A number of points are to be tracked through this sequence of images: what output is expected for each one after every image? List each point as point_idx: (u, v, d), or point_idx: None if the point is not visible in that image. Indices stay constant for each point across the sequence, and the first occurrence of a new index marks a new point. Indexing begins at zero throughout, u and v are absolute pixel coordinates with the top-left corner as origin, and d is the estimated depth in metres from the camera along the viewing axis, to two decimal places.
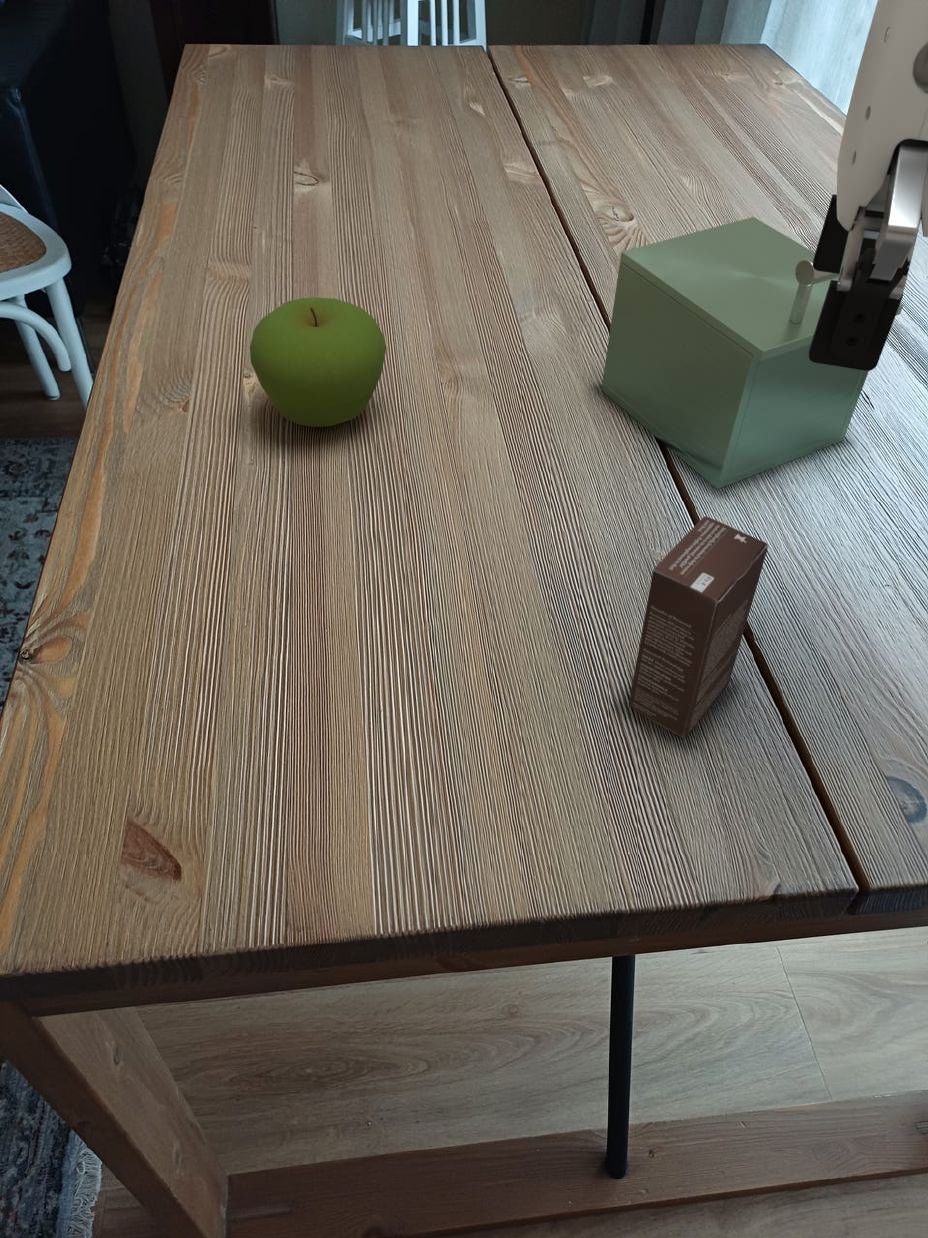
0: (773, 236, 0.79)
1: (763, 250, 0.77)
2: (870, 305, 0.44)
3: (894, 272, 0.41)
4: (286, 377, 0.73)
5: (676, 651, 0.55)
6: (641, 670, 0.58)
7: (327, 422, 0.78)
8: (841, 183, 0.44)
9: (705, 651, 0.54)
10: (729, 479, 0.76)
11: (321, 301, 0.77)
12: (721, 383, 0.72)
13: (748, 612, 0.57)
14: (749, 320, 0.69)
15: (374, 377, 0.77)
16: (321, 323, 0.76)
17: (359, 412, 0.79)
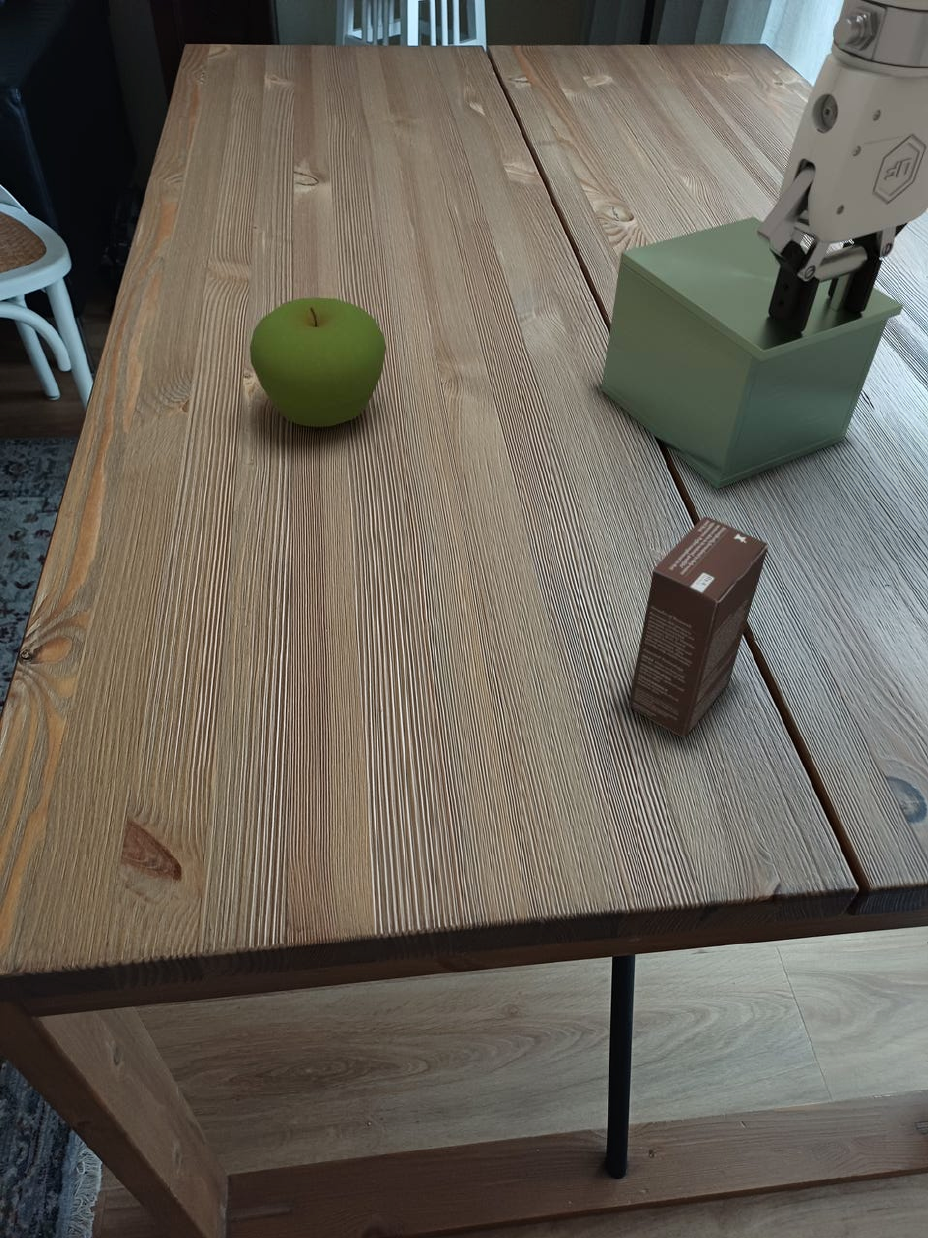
0: None
1: (763, 250, 0.77)
2: (791, 279, 0.66)
3: (781, 255, 0.64)
4: (286, 377, 0.73)
5: (677, 651, 0.55)
6: (641, 670, 0.58)
7: (327, 422, 0.78)
8: None
9: (705, 651, 0.54)
10: (729, 479, 0.76)
11: (321, 301, 0.77)
12: (721, 383, 0.72)
13: (748, 612, 0.57)
14: (749, 320, 0.69)
15: (373, 377, 0.77)
16: (321, 323, 0.76)
17: (359, 412, 0.79)
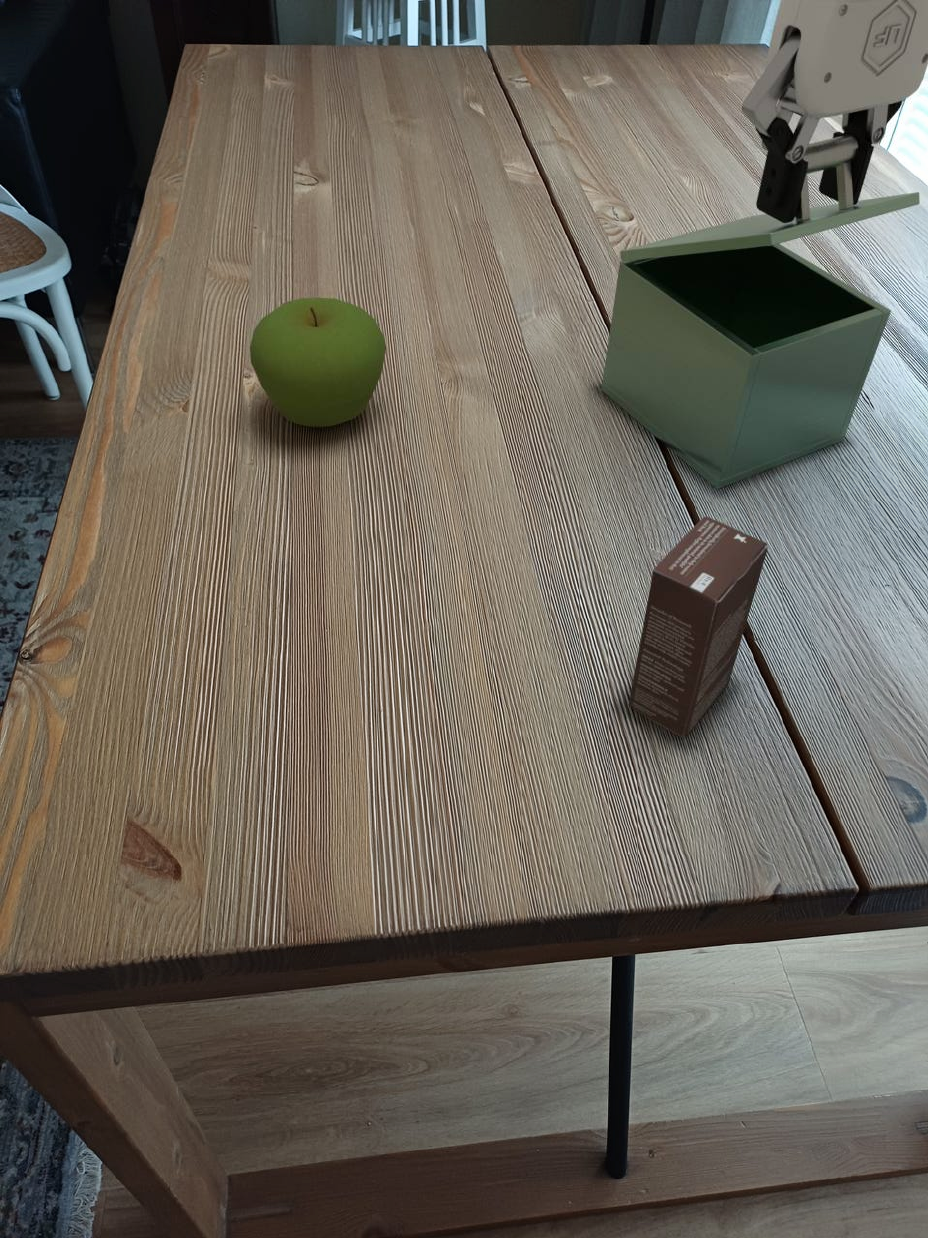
0: None
1: (764, 218, 0.76)
2: (779, 163, 0.64)
3: (767, 132, 0.61)
4: (286, 377, 0.73)
5: (676, 651, 0.55)
6: (641, 670, 0.58)
7: (327, 422, 0.78)
8: None
9: (705, 651, 0.54)
10: (729, 479, 0.76)
11: (321, 301, 0.77)
12: (721, 383, 0.72)
13: (748, 612, 0.57)
14: (753, 231, 0.66)
15: (373, 377, 0.77)
16: (321, 323, 0.76)
17: (359, 412, 0.79)
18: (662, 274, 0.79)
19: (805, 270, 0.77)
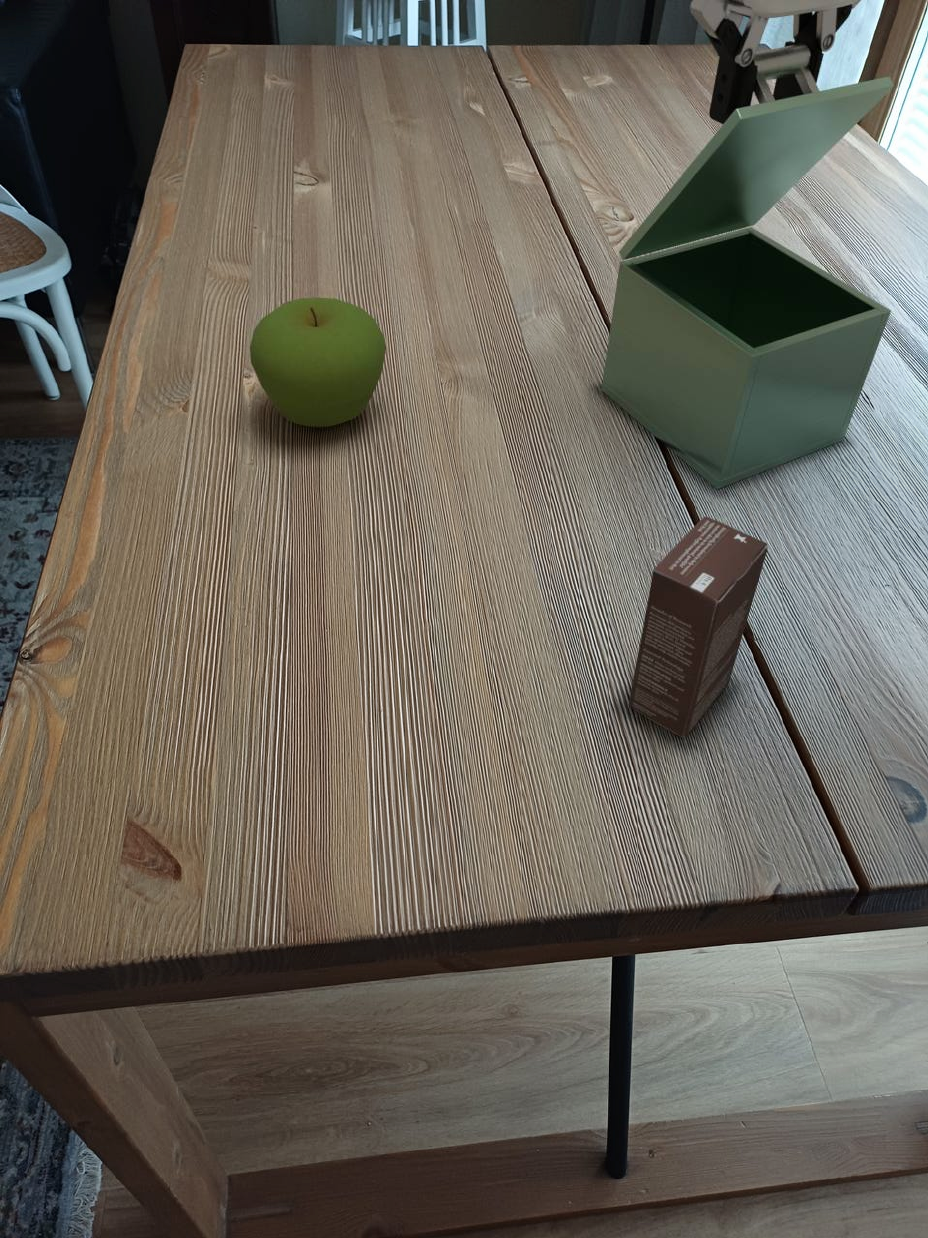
0: None
1: None
2: (729, 68, 0.64)
3: (716, 34, 0.62)
4: (286, 377, 0.73)
5: (677, 651, 0.55)
6: (641, 670, 0.58)
7: (327, 422, 0.78)
8: None
9: (705, 651, 0.54)
10: (729, 479, 0.76)
11: (321, 301, 0.77)
12: (721, 383, 0.72)
13: (748, 612, 0.57)
14: None
15: (374, 377, 0.77)
16: (321, 323, 0.76)
17: (359, 412, 0.79)
18: (662, 274, 0.79)
19: (805, 270, 0.77)
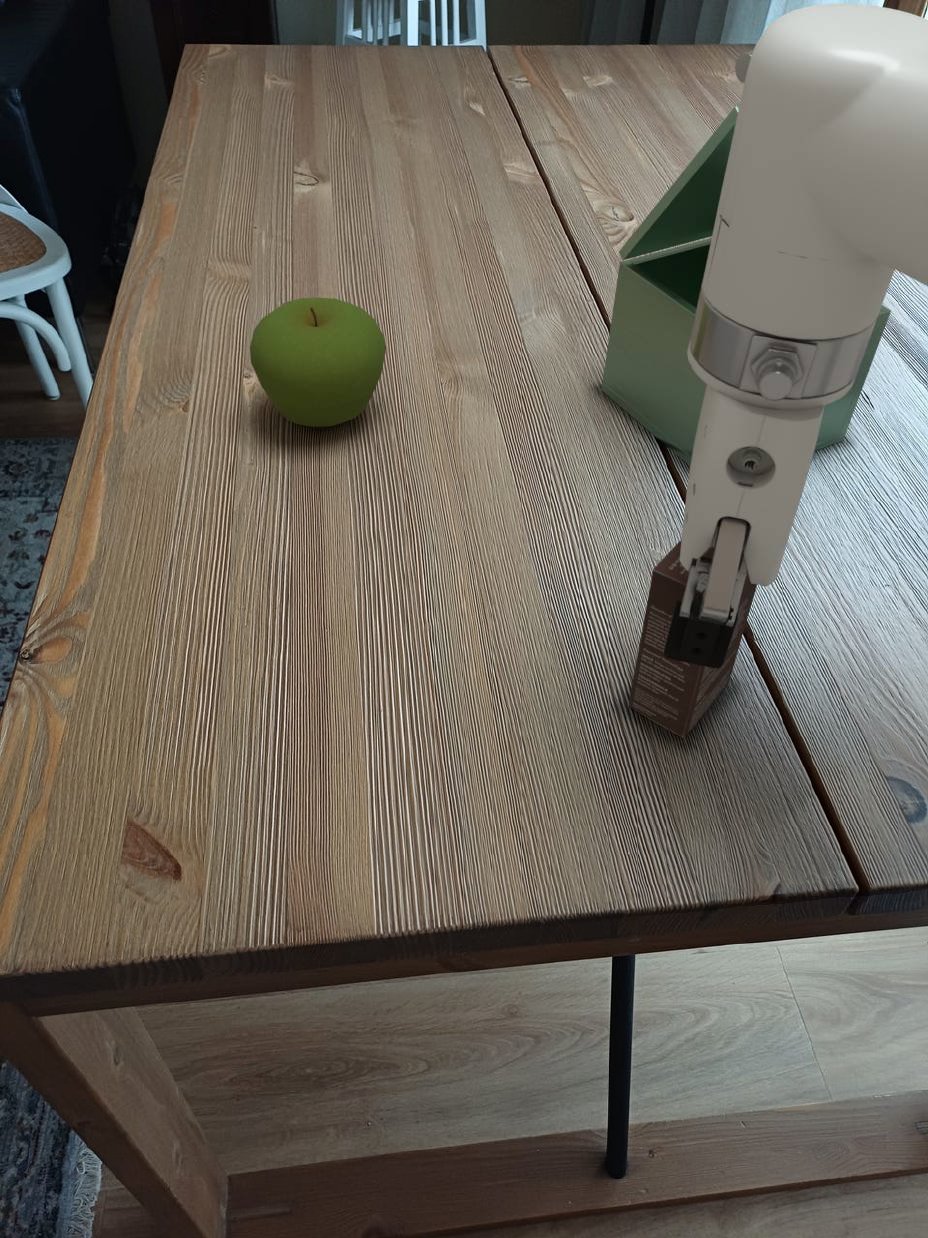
0: None
1: None
2: (709, 628, 0.50)
3: (718, 622, 0.47)
4: (286, 377, 0.73)
5: None
6: (641, 670, 0.58)
7: (327, 422, 0.78)
8: None
9: None
10: None
11: (321, 301, 0.77)
12: None
13: (748, 612, 0.58)
14: None
15: (374, 377, 0.77)
16: (321, 323, 0.76)
17: (359, 412, 0.79)
18: (662, 274, 0.79)
19: None
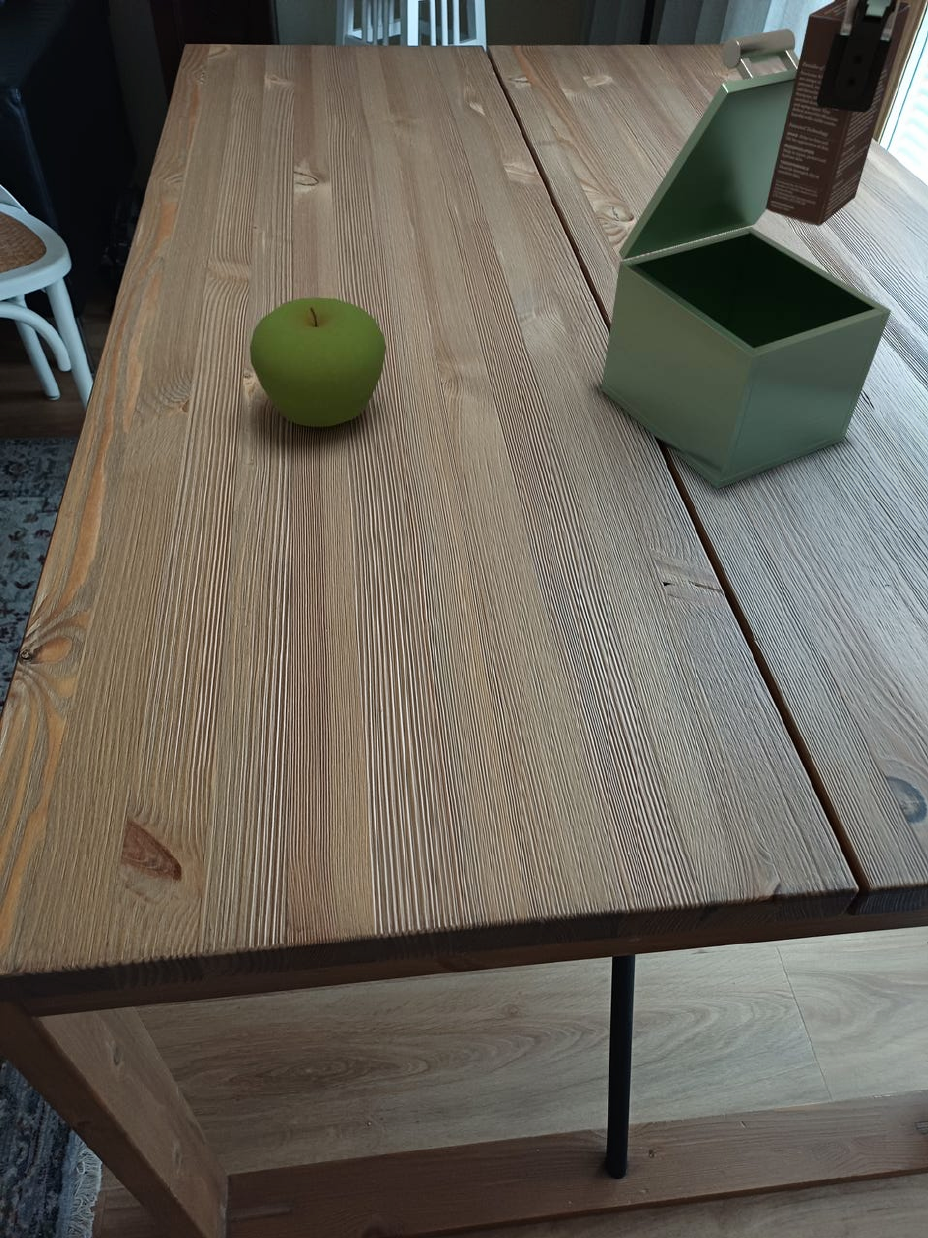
0: None
1: None
2: (866, 47, 0.56)
3: (884, 10, 0.53)
4: (286, 377, 0.73)
5: (823, 111, 0.61)
6: (784, 153, 0.64)
7: (327, 422, 0.78)
8: None
9: None
10: (729, 479, 0.76)
11: (321, 301, 0.77)
12: (721, 383, 0.72)
13: (883, 96, 0.63)
14: None
15: (374, 377, 0.77)
16: (321, 323, 0.76)
17: (359, 412, 0.79)
18: (662, 274, 0.79)
19: (805, 270, 0.77)
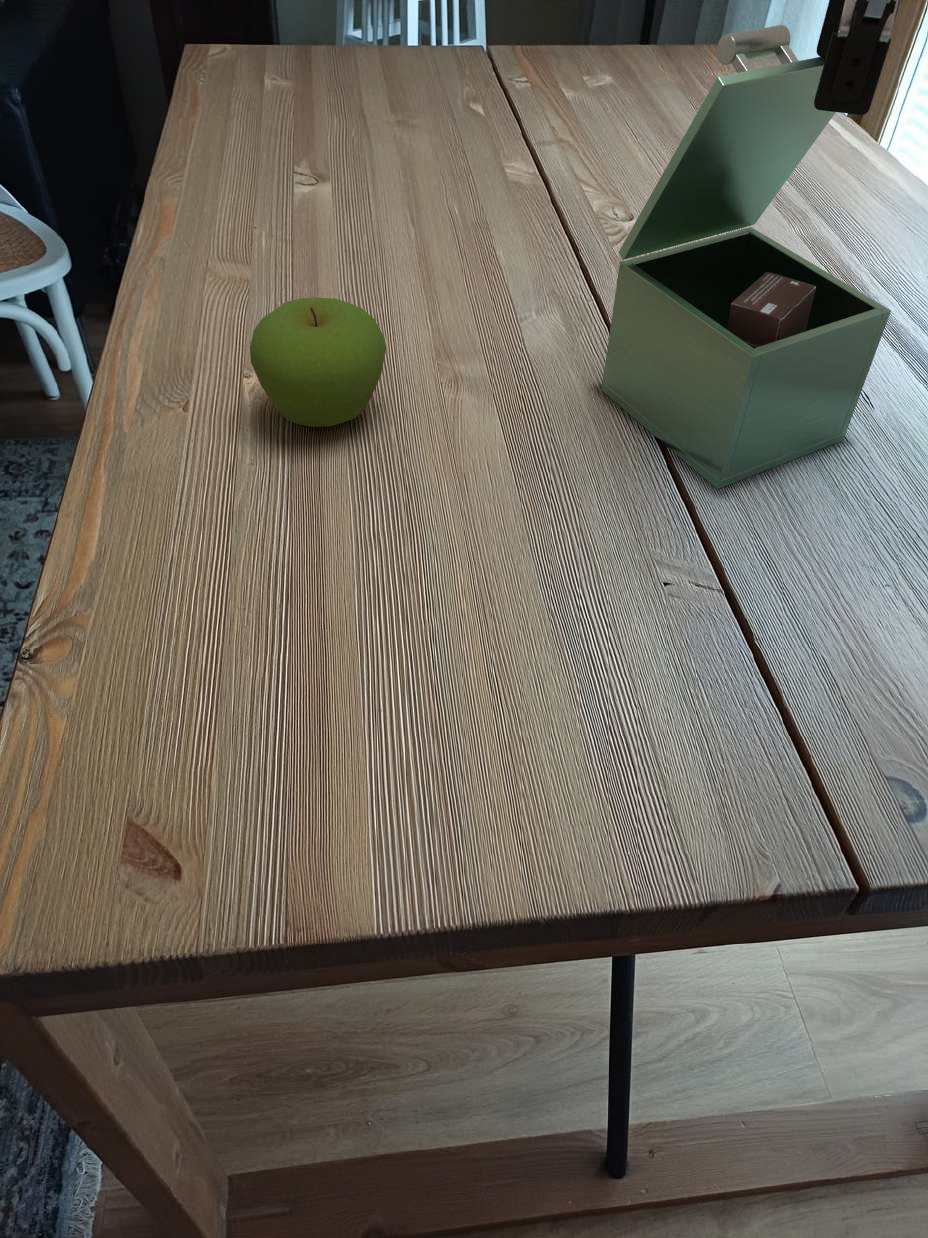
0: None
1: None
2: (865, 48, 0.55)
3: (883, 8, 0.52)
4: (286, 377, 0.73)
5: None
6: None
7: (327, 422, 0.78)
8: None
9: None
10: (729, 479, 0.76)
11: (321, 301, 0.77)
12: (721, 383, 0.72)
13: None
14: None
15: (373, 377, 0.77)
16: (321, 323, 0.76)
17: (359, 412, 0.79)
18: (662, 274, 0.79)
19: (805, 270, 0.77)
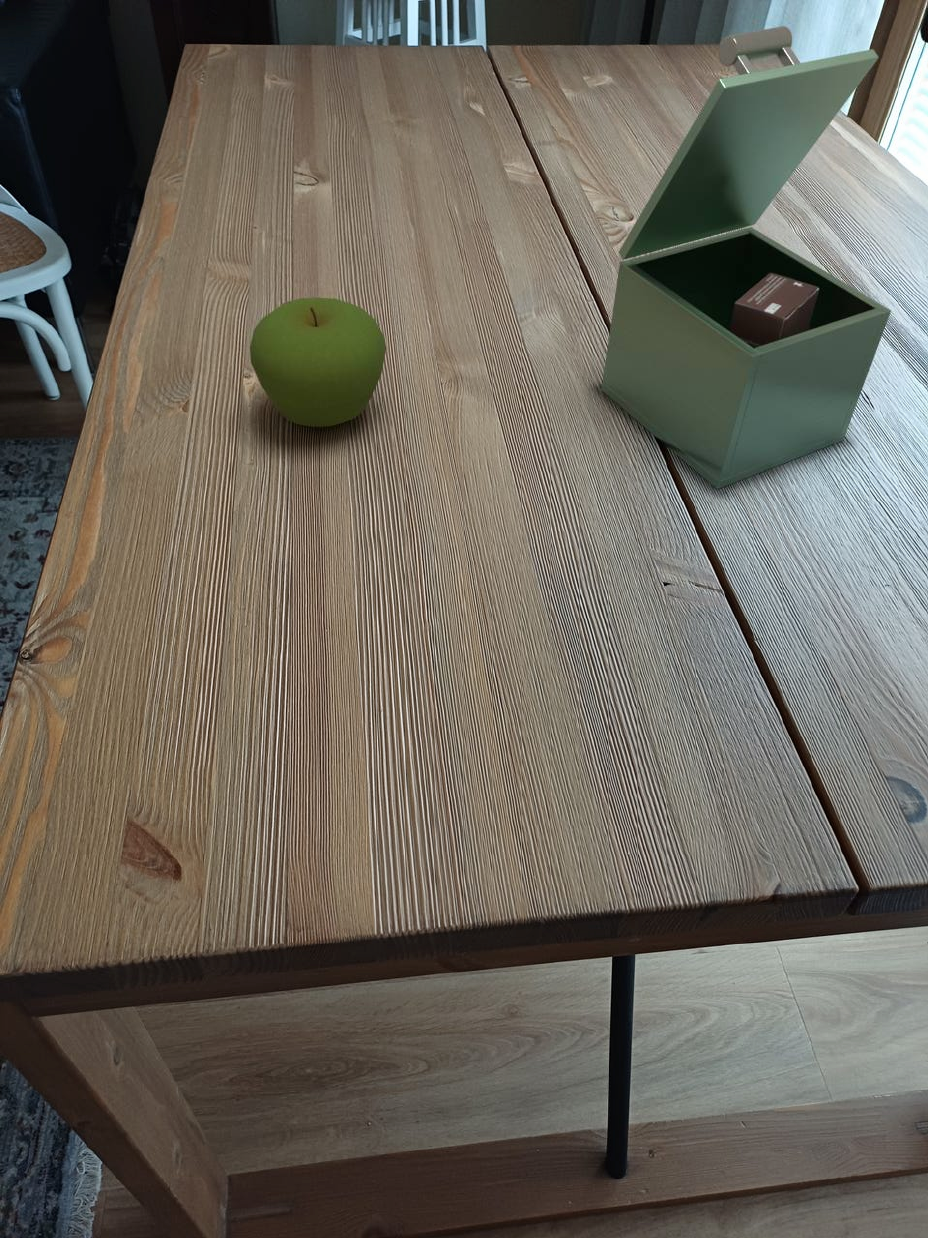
0: None
1: None
2: None
3: None
4: (286, 377, 0.73)
5: None
6: None
7: (327, 422, 0.78)
8: None
9: None
10: (729, 479, 0.76)
11: (321, 301, 0.77)
12: (721, 383, 0.72)
13: None
14: None
15: (373, 377, 0.77)
16: (321, 323, 0.76)
17: (359, 412, 0.79)
18: (662, 274, 0.79)
19: (805, 270, 0.77)
